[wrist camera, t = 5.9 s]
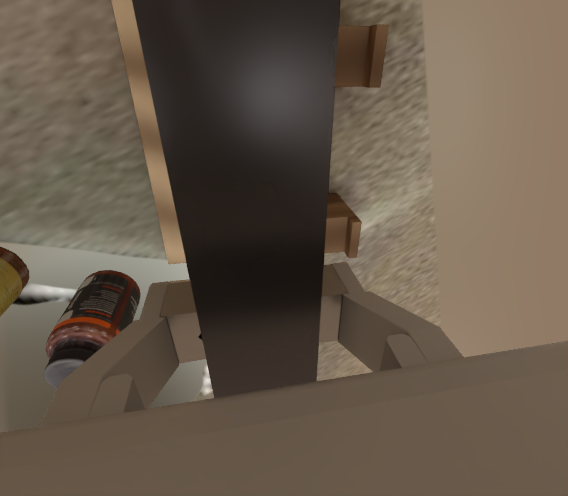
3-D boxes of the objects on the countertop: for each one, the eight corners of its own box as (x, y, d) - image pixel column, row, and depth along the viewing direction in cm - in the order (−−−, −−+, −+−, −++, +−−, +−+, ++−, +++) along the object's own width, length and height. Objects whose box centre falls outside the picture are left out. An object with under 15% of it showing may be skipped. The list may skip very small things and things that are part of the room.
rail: (129, -182, 5) (51, -386, 3) (300, -167, 6) (362, -337, 3) (235, 442, 16) (238, 516, 13) (294, 431, 16) (308, 501, 14)
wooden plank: (107, -26, 22) (105, -27, 22) (222, -21, 23) (222, -22, 23) (169, 262, 34) (168, 264, 34) (243, 255, 36) (243, 257, 35)
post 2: (286, 32, 26) (306, 23, 20) (350, 33, 27) (388, 24, 20) (286, 82, 28) (304, 88, 21) (346, 82, 28) (380, 87, 22)
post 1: (285, 195, 33) (300, 226, 27) (336, 192, 34) (361, 221, 27) (285, 227, 35) (299, 262, 29) (333, 223, 35) (356, 257, 29)
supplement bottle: (73, 272, 33) (12, 357, 24) (132, 263, 34) (96, 343, 24) (94, 314, 36) (48, 406, 27) (148, 306, 37) (122, 392, 27)
